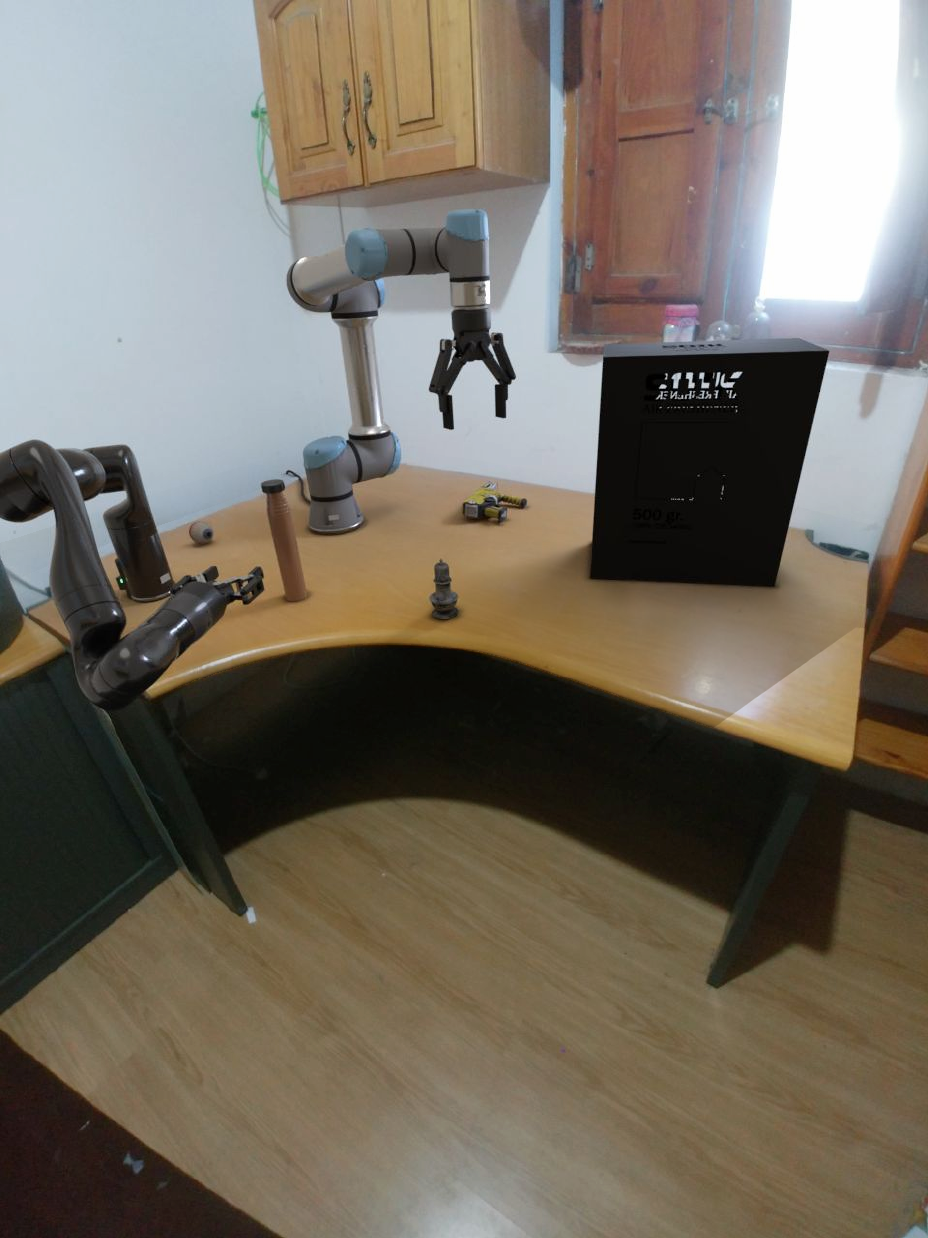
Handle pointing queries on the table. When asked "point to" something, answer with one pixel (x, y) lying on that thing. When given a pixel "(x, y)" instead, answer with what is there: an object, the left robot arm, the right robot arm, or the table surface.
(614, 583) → the table surface
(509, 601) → the table surface
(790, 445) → the cardboard box
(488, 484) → the toy gun
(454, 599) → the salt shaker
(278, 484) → the cap
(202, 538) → the eyeball
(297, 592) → the bottle
